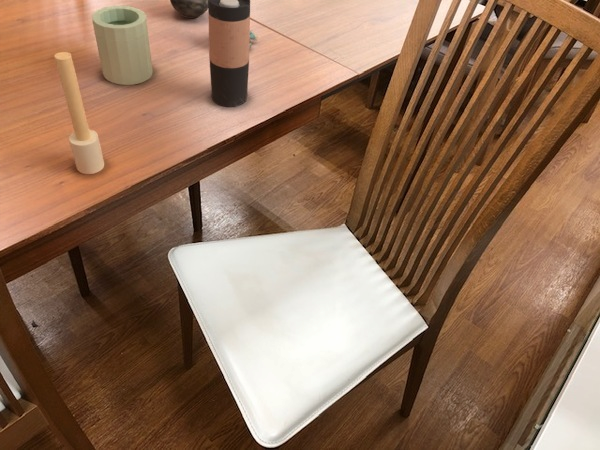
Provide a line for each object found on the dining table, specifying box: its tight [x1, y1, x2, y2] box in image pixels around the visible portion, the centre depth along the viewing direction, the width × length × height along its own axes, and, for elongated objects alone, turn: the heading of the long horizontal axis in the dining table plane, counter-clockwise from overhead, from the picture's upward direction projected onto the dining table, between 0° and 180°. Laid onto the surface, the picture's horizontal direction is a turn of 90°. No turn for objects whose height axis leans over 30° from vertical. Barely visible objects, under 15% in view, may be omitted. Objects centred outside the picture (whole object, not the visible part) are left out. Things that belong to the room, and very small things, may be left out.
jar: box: [91, 5, 154, 86], centre depth 103 cm, size 10×10×12 cm
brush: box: [53, 51, 105, 175], centre depth 78 cm, size 4×4×20 cm
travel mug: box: [207, 0, 251, 108], centre depth 97 cm, size 8×8×20 cm
